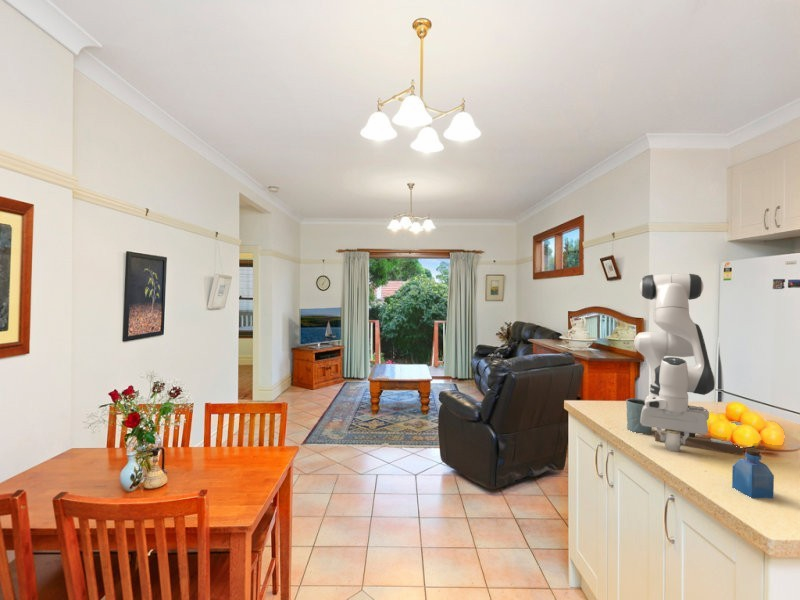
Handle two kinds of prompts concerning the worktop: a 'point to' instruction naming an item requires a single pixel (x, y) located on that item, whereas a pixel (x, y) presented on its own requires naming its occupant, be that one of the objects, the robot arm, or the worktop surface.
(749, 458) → the perfume bottle
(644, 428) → the grey-green plant pot
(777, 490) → the worktop surface
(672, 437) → the round canister
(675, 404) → the robot arm
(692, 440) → the walnut fence
